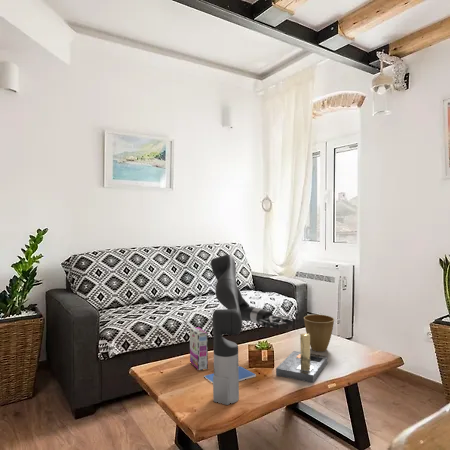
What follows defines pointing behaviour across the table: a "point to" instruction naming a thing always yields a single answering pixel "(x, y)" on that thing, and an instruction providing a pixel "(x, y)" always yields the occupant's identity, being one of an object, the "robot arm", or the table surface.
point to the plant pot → (319, 331)
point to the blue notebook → (242, 374)
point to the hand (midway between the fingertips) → (286, 324)
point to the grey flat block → (294, 370)
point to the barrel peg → (305, 350)
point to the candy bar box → (199, 348)
